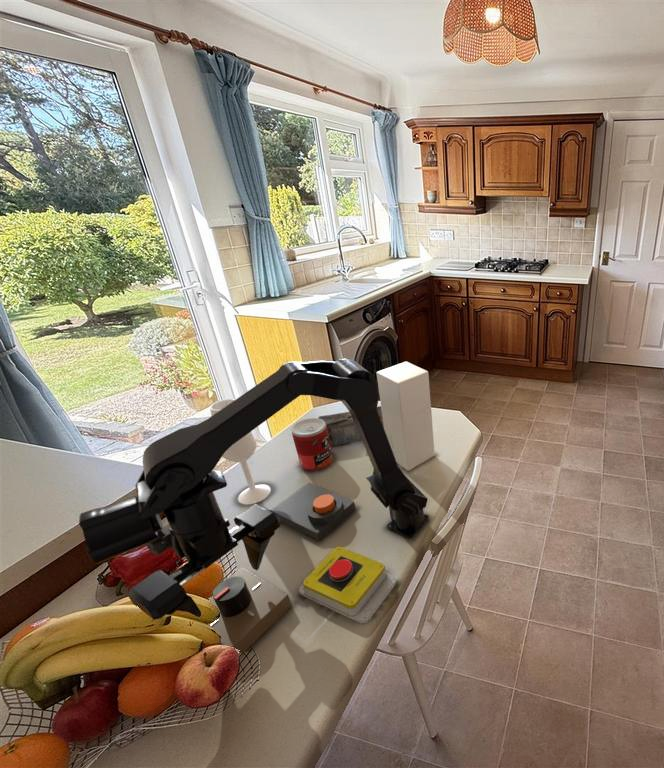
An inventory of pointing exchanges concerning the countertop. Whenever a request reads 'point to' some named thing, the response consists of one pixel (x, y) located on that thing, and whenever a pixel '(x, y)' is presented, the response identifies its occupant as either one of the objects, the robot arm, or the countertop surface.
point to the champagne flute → (243, 460)
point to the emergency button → (349, 584)
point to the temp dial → (232, 596)
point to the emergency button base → (312, 511)
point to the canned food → (312, 443)
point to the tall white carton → (407, 413)
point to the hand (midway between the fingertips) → (228, 590)
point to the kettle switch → (324, 504)
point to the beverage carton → (343, 427)
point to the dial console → (252, 613)
